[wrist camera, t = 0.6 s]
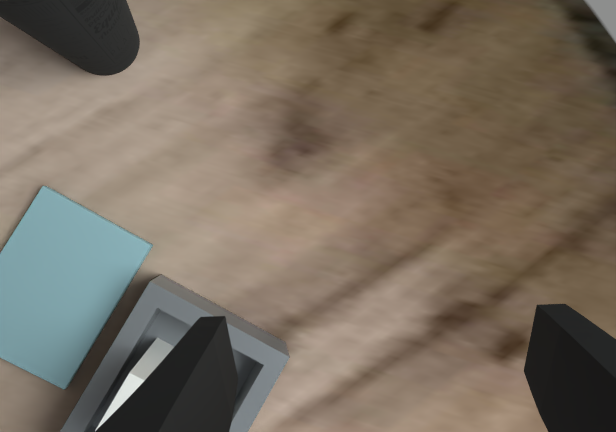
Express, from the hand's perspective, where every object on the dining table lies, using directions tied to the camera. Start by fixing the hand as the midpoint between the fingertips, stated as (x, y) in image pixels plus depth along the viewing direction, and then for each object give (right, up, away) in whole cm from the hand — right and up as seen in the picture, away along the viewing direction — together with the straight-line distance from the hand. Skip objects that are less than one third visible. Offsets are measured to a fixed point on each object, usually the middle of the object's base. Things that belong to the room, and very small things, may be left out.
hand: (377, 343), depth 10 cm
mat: (-19, -2, +19) cm, 27 cm away
